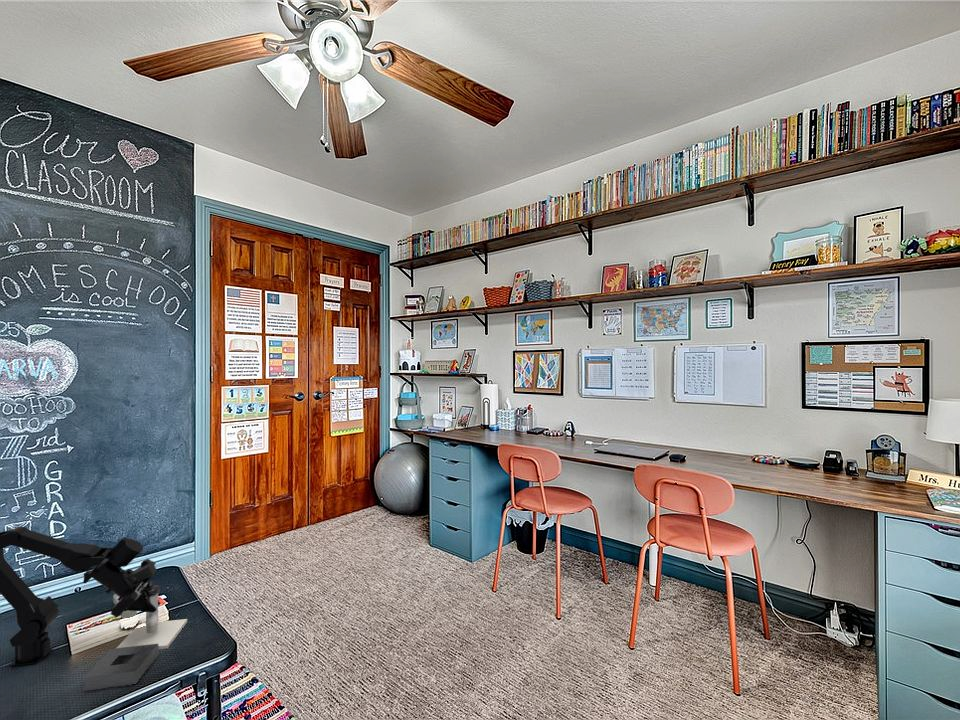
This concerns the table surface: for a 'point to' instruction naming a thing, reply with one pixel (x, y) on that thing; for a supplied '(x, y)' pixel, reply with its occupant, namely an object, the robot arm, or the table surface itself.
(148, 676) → the table surface
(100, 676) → the grey square frame block
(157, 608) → the black knobbed metal rod
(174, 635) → the pad
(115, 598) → the grey rounded bar
